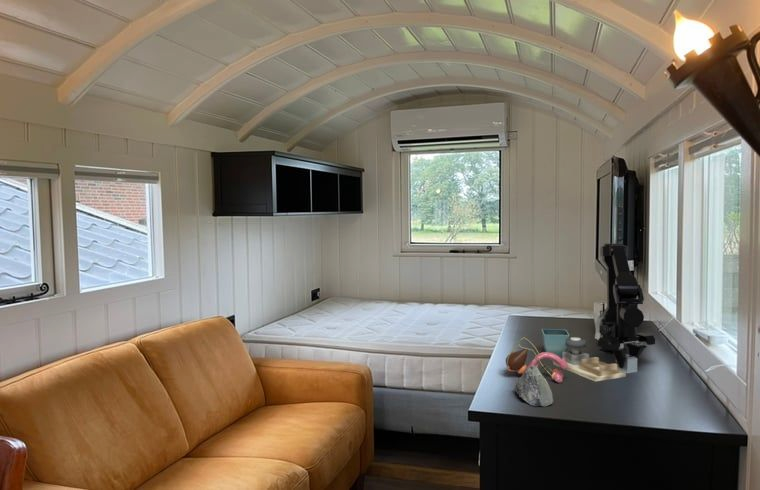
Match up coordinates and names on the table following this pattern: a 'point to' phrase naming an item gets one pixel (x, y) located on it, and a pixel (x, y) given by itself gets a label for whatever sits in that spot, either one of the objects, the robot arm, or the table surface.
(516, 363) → the anatomy model
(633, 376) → the table surface
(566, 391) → the table surface
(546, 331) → the flower pot
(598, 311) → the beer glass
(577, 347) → the grey rounded knob
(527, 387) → the mineral rock
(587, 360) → the chassis board
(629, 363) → the brushed metal cube
